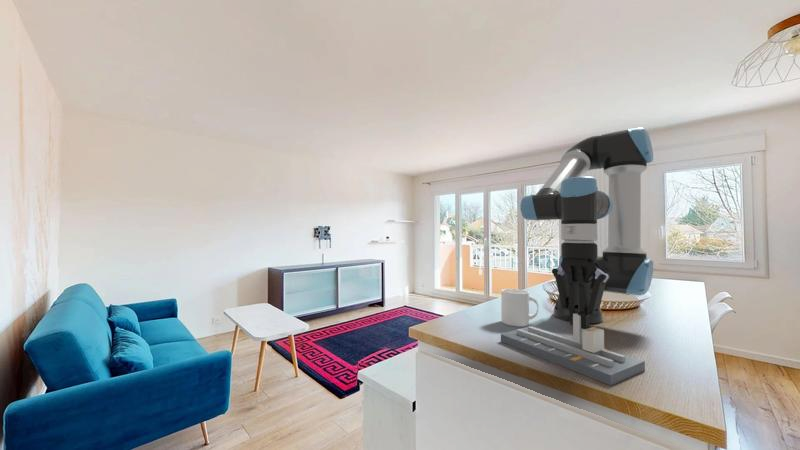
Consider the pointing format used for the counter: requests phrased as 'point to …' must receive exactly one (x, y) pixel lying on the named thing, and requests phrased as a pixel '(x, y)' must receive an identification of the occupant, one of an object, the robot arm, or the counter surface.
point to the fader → (593, 340)
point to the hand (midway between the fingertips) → (579, 341)
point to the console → (574, 355)
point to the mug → (516, 307)
